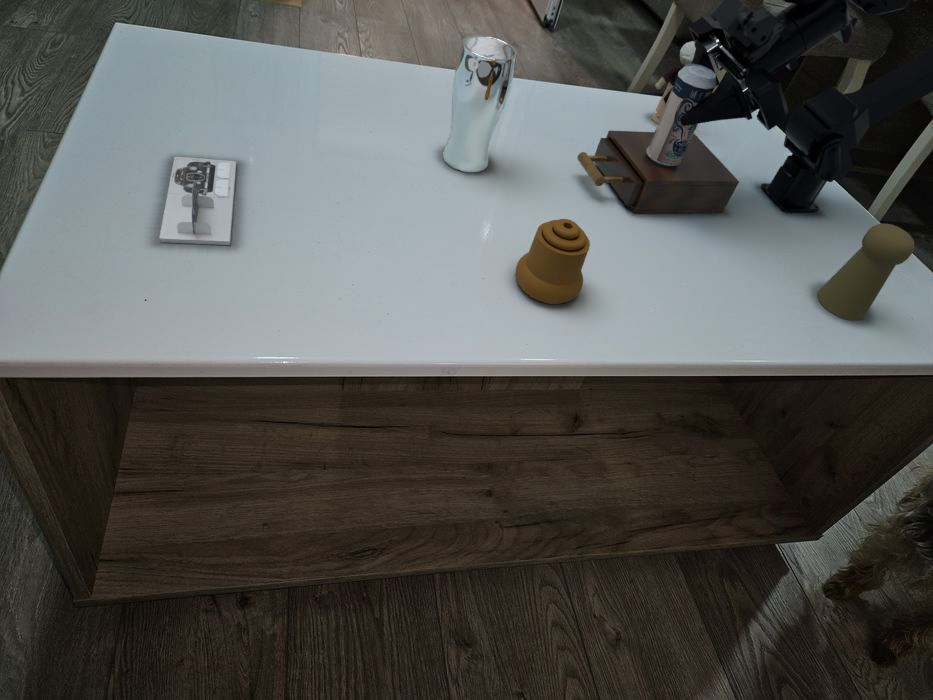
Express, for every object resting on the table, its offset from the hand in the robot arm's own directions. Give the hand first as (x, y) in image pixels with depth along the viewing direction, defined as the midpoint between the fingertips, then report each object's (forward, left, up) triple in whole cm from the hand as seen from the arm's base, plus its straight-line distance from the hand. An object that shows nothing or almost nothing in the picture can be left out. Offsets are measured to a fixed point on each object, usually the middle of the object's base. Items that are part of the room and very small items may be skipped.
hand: (672, 112), depth 86 cm
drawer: (0, -1, -11) cm, 11 cm away
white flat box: (+56, +2, -12) cm, 58 cm away
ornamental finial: (+21, +18, -12) cm, 30 cm away
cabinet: (-4, -1, -12) cm, 12 cm away
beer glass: (+23, -7, -12) cm, 27 cm away
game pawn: (-17, +24, -12) cm, 32 cm away
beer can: (-1, 0, -7) cm, 7 cm away
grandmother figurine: (-15, -20, -12) cm, 27 cm away
